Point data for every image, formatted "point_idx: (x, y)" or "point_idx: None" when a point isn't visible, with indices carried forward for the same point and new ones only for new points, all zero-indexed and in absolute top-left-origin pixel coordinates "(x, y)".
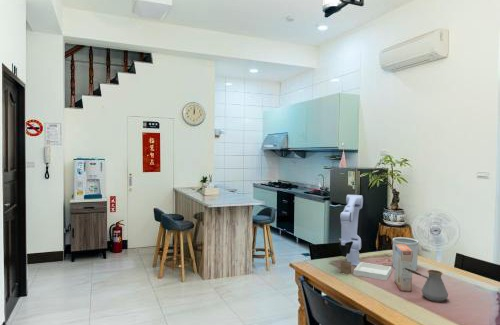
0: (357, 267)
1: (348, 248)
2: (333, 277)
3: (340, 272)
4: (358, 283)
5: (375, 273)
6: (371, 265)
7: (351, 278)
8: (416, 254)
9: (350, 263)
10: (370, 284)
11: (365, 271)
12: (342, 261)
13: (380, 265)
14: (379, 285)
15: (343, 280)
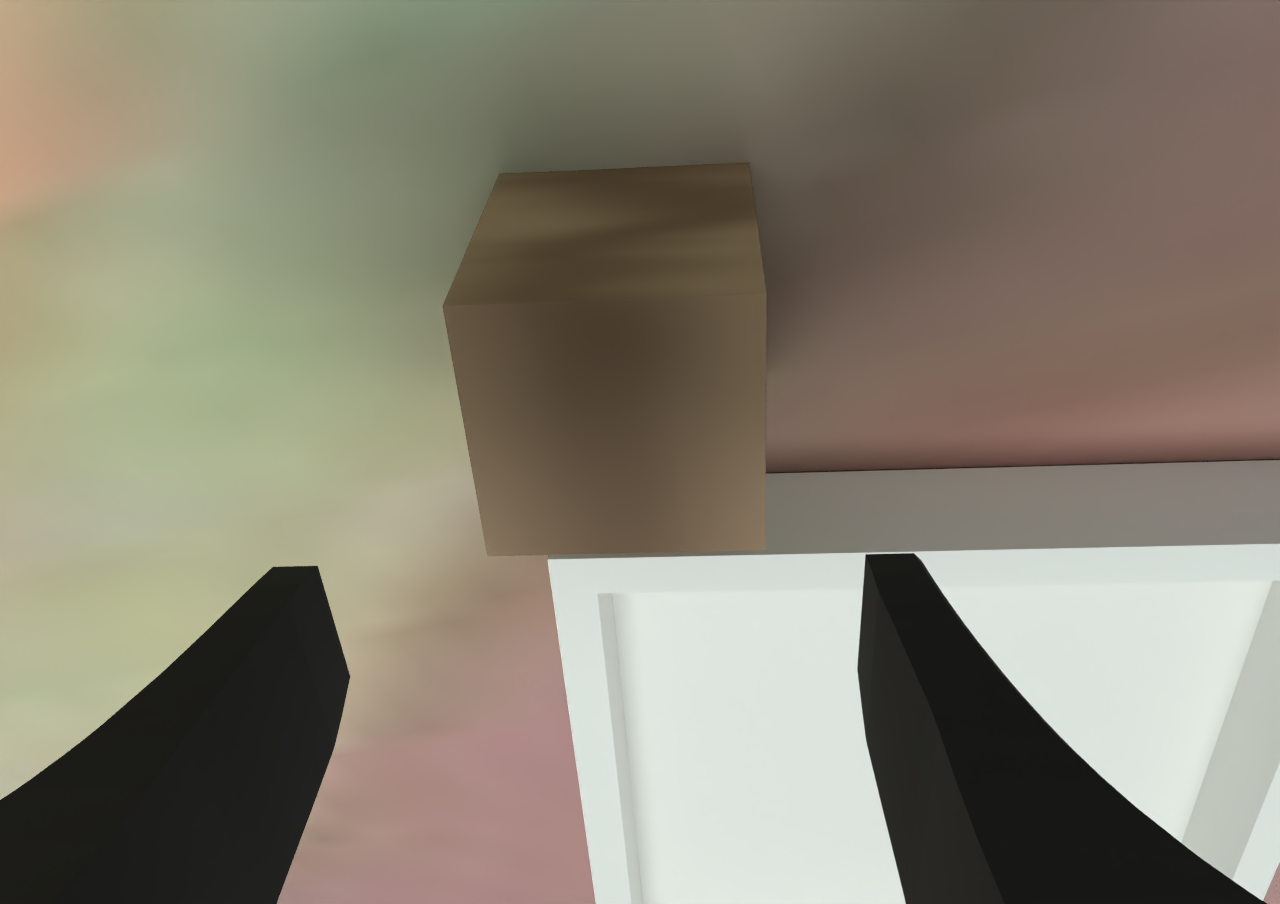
0: (805, 586)
1: (910, 844)
2: (4, 142)
3: (498, 181)
4: (125, 659)
5: (595, 893)
6: (1264, 733)
7: (293, 501)
8: None
9: (663, 540)
10: None
11: (592, 763)
12: (662, 311)
13: None
14: (311, 884)
15: (28, 406)
